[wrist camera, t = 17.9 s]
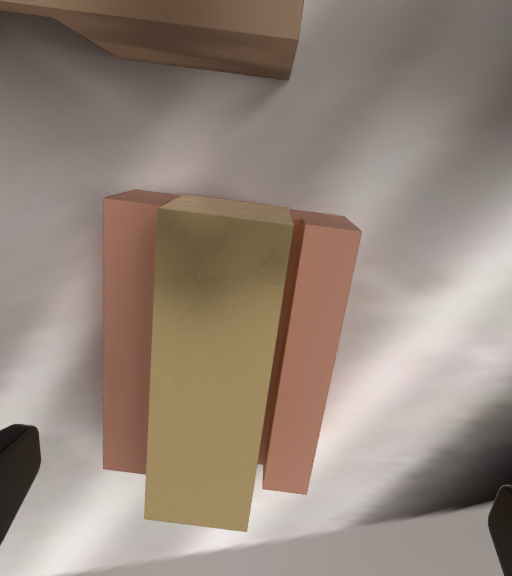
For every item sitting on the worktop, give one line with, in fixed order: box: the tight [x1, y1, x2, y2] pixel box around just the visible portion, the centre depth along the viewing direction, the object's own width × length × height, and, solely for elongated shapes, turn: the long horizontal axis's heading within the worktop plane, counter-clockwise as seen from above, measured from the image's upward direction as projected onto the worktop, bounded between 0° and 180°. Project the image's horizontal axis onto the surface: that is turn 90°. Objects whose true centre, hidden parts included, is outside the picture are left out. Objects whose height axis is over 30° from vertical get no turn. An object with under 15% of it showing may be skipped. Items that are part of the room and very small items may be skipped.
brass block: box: [144, 194, 294, 532], centre depth 16 cm, size 12×4×4 cm, turn 173°
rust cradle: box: [103, 190, 362, 495], centre depth 18 cm, size 9×12×4 cm
